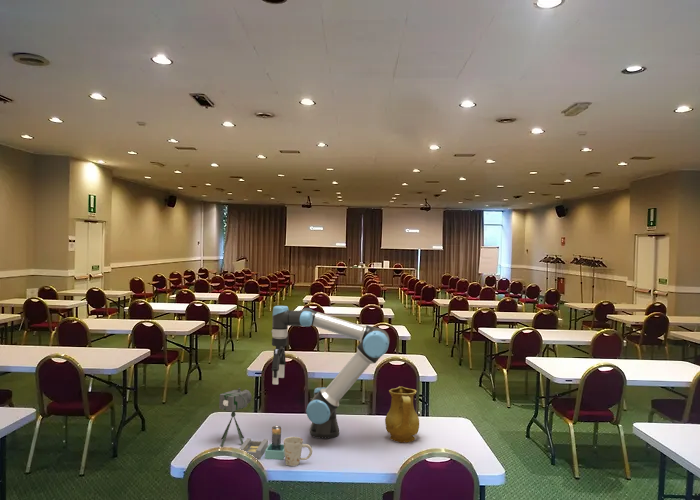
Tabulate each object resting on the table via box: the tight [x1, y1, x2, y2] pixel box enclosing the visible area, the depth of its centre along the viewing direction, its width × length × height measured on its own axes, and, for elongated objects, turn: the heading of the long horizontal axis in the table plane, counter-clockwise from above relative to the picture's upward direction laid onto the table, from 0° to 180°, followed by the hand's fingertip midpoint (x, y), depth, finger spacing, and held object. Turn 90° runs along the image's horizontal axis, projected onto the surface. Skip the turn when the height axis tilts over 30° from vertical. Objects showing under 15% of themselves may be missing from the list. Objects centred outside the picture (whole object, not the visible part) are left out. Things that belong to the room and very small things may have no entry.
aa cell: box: [271, 425, 282, 451], centre depth 217 cm, size 4×4×13 cm
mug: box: [283, 436, 313, 467], centre depth 210 cm, size 8×13×10 cm, turn 95°
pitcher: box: [384, 385, 420, 444], centre depth 242 cm, size 17×19×25 cm
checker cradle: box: [238, 437, 269, 460], centre depth 220 cm, size 10×14×4 cm
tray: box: [264, 443, 285, 461], centre depth 217 cm, size 8×8×4 cm
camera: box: [218, 387, 252, 447], centre depth 233 cm, size 16×16×25 cm
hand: (278, 380), depth 237 cm, fingers open, 13 cm apart
